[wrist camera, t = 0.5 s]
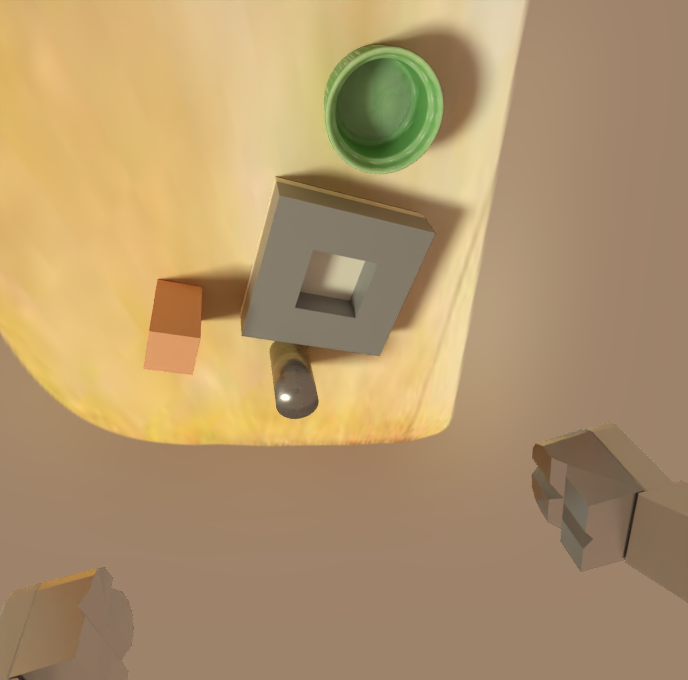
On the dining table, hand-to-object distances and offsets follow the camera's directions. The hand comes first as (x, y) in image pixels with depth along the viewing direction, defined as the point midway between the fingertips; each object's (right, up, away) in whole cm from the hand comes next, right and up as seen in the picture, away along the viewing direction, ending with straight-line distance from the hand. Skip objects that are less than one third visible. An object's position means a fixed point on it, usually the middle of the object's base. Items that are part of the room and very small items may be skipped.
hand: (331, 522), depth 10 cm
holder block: (-1, +11, +41) cm, 43 cm away
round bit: (-6, +2, +47) cm, 47 cm away
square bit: (-16, +7, +41) cm, 44 cm away
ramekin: (+2, +23, +33) cm, 40 cm away
